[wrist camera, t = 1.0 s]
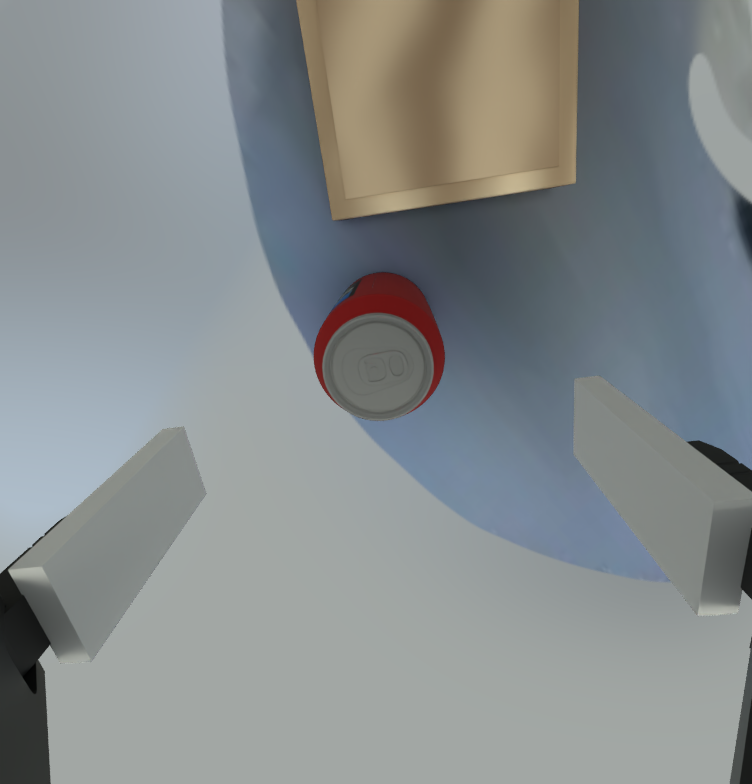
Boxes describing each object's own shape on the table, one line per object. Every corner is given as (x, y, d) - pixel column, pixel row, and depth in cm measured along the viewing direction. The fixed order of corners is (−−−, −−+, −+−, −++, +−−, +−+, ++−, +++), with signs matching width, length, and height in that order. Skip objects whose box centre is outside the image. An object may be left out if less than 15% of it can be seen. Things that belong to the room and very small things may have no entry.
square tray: (552, -96, 24) (583, -159, 20) (552, 187, 29) (577, 182, 25) (298, -44, 25) (280, -93, 21) (340, 220, 30) (331, 220, 26)
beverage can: (327, 281, 31) (290, 315, 20) (421, 261, 31) (436, 284, 20) (348, 370, 34) (326, 444, 23) (436, 353, 33) (458, 421, 22)
